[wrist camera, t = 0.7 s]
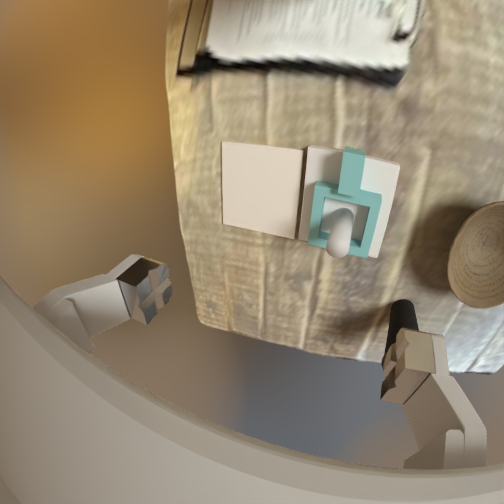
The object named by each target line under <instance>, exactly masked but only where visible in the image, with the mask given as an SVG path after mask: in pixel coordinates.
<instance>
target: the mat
mask: <svg viewBox="0 0 504 504" xmlns="http://www.w3.org/2000/svg"><path fill="white" fill-rule="evenodd" d="M303 153H304V150H300V149H293V148H286V147H278V146H270V145H261V144H251V143H240V142H228V141H223V142H222V195H223V224H226V225H231V226H236V227H240V228H245V229H250V230H254V231H259V232H263V233H268V234H273V235H277V236H282V237H286V238H290V239H294V238H295V232H296V223H297V214H298V205H299V196H300V186H301V176H302V165H303Z"/></svg>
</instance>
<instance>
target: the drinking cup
mask: <svg viewBox="0 0 504 504" xmlns="http://www.w3.org/2000/svg"><path fill="white" fill-rule="evenodd" d="M401 328H407V329H412V330H417V331H419V329H418V324H417V319H416V314H415V310H414V305H413V303H412V302H411V301H409V300H405V299H403V300H398V301H396V302H395V303H394V304H393V305H392V308H391V315H390V322H389V329H388V336H387V342H386V348H385V354H384V357H383V358H382V363H381V364H382V368H383V366H384V361H385V358H386V355H387V352H388V350H389V348H390V346H391V345H392V344H394V343H396V336H397V334H398V332H399V330H400V329H401Z"/></svg>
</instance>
